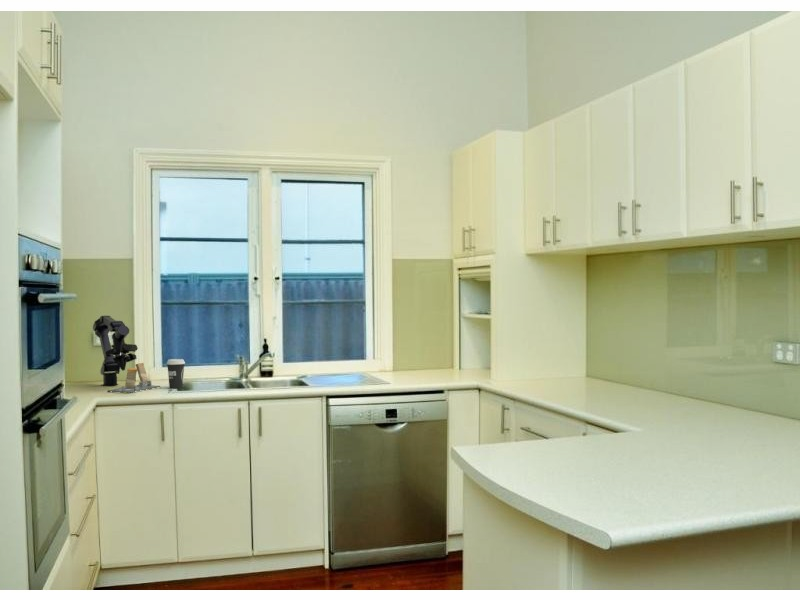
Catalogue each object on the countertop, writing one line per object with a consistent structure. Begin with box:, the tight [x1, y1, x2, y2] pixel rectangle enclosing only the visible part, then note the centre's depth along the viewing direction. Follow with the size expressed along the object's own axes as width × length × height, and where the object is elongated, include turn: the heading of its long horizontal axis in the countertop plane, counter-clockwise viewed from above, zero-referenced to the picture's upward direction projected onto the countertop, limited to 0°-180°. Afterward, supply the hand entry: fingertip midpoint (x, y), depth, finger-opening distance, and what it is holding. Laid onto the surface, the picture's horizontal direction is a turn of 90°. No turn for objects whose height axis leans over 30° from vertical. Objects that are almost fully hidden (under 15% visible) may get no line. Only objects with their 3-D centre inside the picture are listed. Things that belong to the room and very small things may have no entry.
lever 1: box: [124, 367, 138, 388], centre depth 338 cm, size 2×4×10 cm, turn 129°
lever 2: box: [135, 362, 149, 383], centre depth 357 cm, size 2×4×10 cm, turn 160°
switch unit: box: [106, 380, 161, 394], centre depth 349 cm, size 14×23×3 cm, turn 160°
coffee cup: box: [166, 358, 186, 390], centre depth 355 cm, size 10×10×15 cm
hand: (123, 370), depth 349 cm, fingers closed
